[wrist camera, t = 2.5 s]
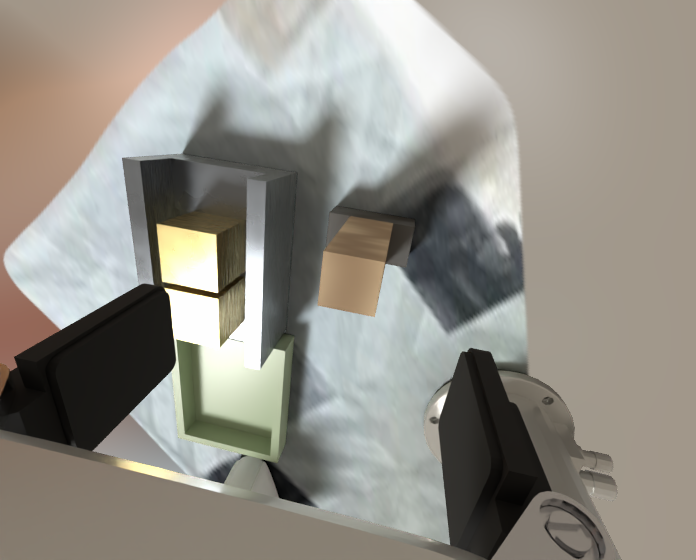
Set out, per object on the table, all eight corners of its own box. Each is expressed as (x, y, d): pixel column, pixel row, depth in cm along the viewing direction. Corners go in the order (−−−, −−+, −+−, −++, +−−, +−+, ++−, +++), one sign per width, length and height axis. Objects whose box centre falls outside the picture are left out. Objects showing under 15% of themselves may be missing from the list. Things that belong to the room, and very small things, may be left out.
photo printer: (288, 515, 42) (242, 654, 31) (256, 513, 43) (200, 646, 32) (268, 454, 38) (209, 586, 27) (234, 452, 39) (162, 580, 28)
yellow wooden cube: (245, 220, 24) (216, 234, 21) (244, 271, 26) (217, 292, 22) (193, 211, 25) (156, 223, 21) (196, 261, 26) (162, 281, 23)
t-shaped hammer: (414, 219, 25) (416, 268, 16) (406, 256, 27) (403, 322, 17) (336, 205, 26) (293, 245, 16) (332, 242, 27) (289, 299, 18)
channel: (297, 172, 25) (266, 181, 20) (286, 329, 31) (259, 369, 26) (181, 153, 26) (121, 157, 21) (191, 309, 32) (146, 344, 27)
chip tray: (294, 335, 31) (285, 351, 29) (285, 443, 37) (277, 463, 35) (184, 312, 32) (166, 325, 30) (192, 419, 38) (178, 437, 36)
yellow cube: (244, 276, 26) (217, 299, 23) (244, 321, 28) (219, 348, 24) (196, 267, 27) (163, 287, 23) (199, 311, 28) (167, 337, 25)
